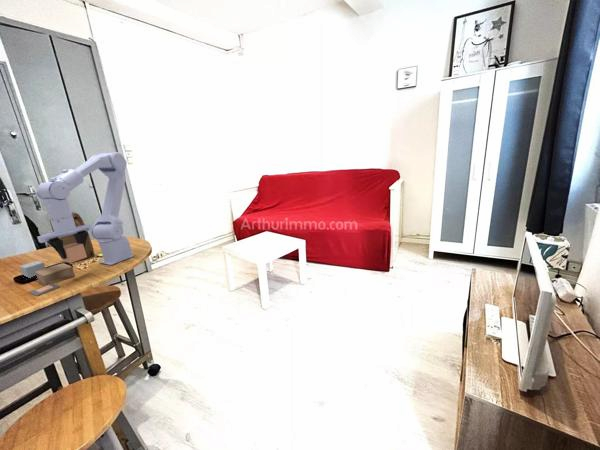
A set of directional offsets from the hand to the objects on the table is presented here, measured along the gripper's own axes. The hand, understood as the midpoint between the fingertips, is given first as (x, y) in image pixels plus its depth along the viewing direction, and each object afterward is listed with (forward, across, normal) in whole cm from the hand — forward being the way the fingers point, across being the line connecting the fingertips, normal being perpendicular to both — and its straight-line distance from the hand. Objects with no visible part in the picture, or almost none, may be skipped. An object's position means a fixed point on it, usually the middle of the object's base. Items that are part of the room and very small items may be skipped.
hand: (73, 255), depth 92 cm
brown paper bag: (+9, +10, +23) cm, 26 cm away
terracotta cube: (+2, 0, 0) cm, 2 cm away
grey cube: (+8, -6, +19) cm, 22 cm away
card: (+8, -10, +1) cm, 13 cm away
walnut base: (+9, -4, +8) cm, 12 cm away
